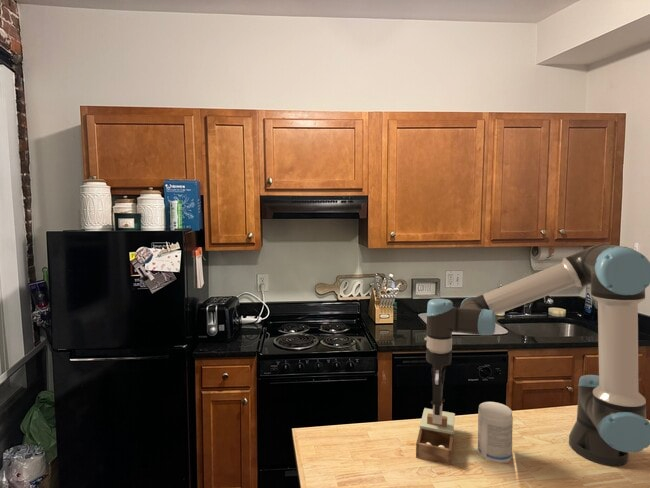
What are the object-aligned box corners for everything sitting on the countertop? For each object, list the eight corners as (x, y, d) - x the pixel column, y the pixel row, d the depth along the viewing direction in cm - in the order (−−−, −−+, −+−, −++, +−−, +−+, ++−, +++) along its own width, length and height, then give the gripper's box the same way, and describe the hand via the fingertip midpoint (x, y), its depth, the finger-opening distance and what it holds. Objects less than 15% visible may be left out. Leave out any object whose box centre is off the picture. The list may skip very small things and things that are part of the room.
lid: (454, 415, 132) (455, 406, 131) (453, 434, 120) (453, 424, 120) (424, 410, 135) (424, 400, 135) (419, 428, 124) (420, 418, 124)
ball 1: (432, 449, 120) (432, 441, 120) (431, 454, 118) (432, 446, 118) (424, 447, 121) (424, 439, 121) (423, 452, 119) (423, 444, 119)
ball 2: (446, 452, 119) (446, 444, 119) (445, 457, 117) (445, 449, 116) (437, 450, 120) (437, 442, 120) (436, 455, 118) (436, 447, 117)
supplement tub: (518, 458, 118) (520, 411, 117) (499, 469, 113) (501, 420, 111) (488, 442, 126) (490, 398, 125) (470, 452, 121) (472, 406, 119)
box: (453, 444, 124) (453, 429, 124) (451, 468, 113) (451, 450, 113) (420, 438, 128) (421, 423, 127) (415, 460, 117) (416, 443, 116)
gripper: (428, 341, 128) (427, 410, 130) (423, 355, 116) (422, 431, 118) (452, 344, 126) (450, 414, 128) (450, 358, 114) (448, 436, 116)
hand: (437, 422), depth 123 cm, fingers closed
